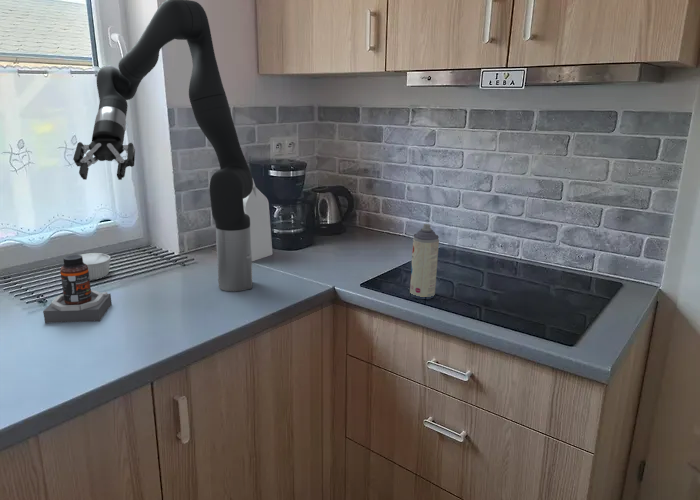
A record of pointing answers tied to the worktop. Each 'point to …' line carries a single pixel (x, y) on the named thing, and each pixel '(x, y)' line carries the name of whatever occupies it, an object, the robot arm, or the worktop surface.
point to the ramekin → (97, 264)
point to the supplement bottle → (75, 280)
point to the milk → (258, 223)
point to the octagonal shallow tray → (78, 309)
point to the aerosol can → (424, 262)
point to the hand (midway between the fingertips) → (101, 177)
